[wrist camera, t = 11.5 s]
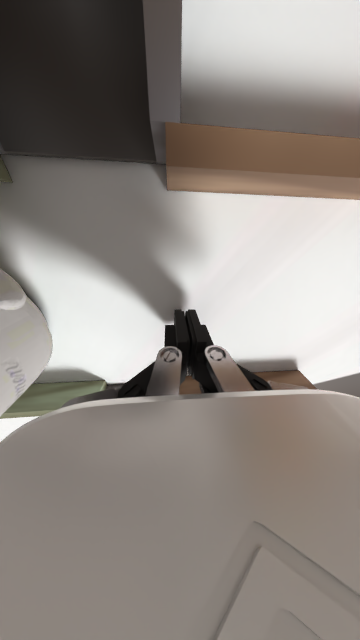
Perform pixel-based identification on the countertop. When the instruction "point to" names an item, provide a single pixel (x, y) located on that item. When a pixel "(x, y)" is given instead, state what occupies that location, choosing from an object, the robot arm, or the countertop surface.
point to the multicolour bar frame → (139, 124)
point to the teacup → (20, 341)
